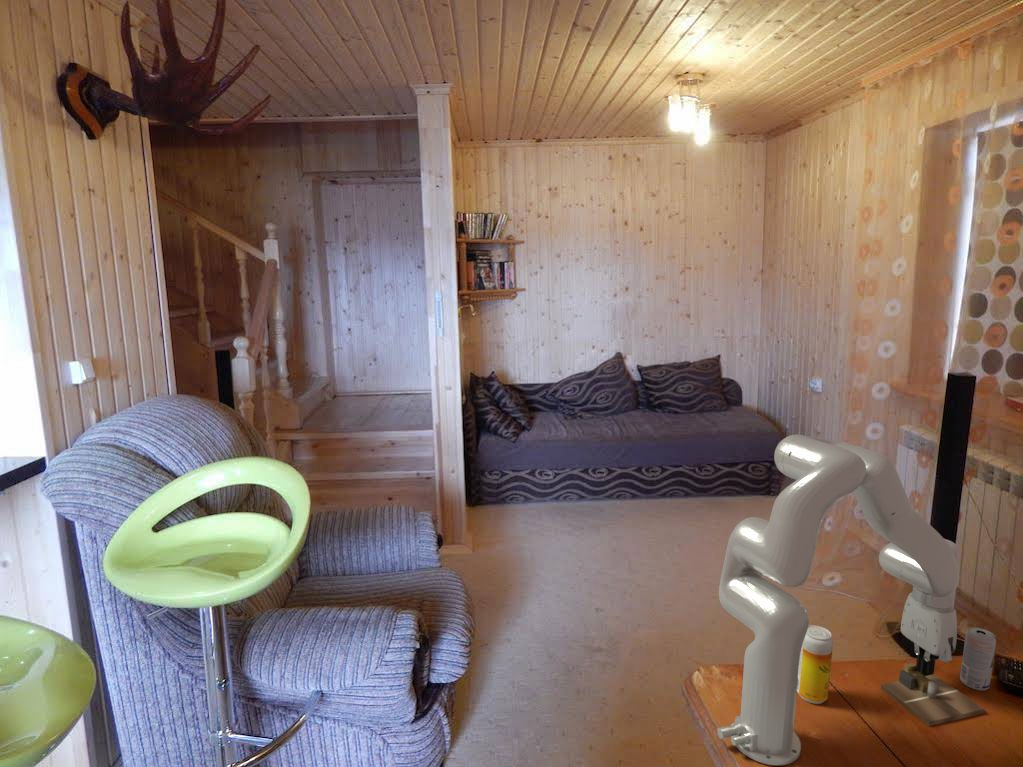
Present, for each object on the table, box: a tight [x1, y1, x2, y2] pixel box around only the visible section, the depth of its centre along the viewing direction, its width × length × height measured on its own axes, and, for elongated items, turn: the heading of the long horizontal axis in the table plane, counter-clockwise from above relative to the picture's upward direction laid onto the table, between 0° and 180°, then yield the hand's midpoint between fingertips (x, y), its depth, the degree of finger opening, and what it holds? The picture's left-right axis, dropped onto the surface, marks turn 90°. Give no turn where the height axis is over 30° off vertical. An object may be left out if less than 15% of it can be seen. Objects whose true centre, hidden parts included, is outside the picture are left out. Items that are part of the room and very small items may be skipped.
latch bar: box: [903, 662, 931, 692], centre depth 142 cm, size 5×2×3 cm, turn 15°
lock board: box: [880, 669, 985, 727], centre depth 138 cm, size 14×12×4 cm
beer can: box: [797, 624, 834, 705], centre depth 139 cm, size 6×6×15 cm
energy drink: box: [959, 626, 997, 692], centre depth 143 cm, size 5×5×12 cm
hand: (924, 673), depth 143 cm, fingers closed
